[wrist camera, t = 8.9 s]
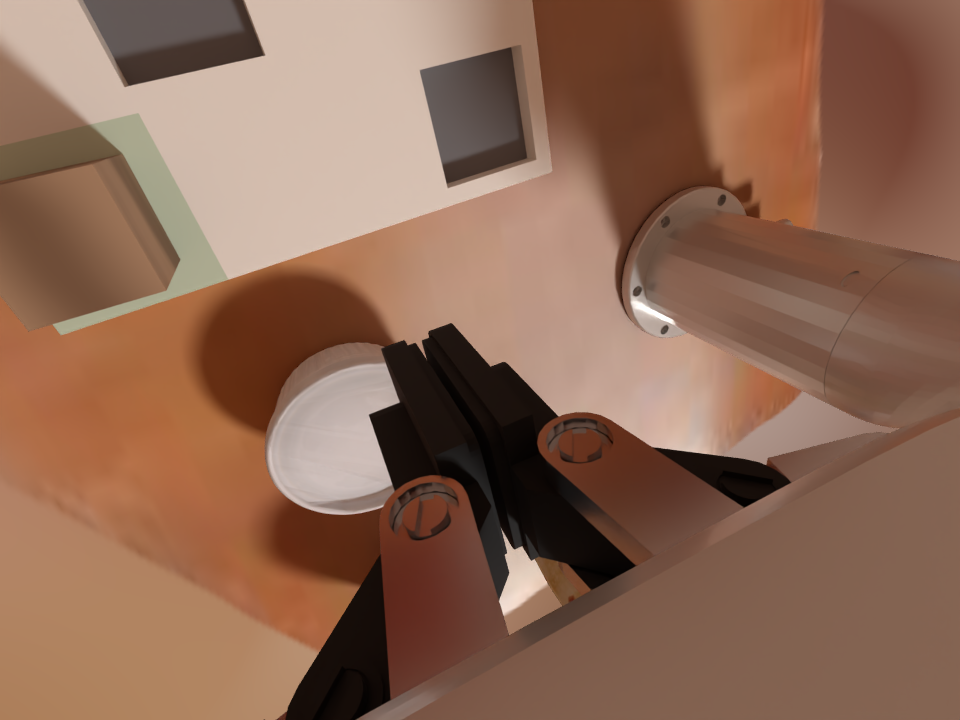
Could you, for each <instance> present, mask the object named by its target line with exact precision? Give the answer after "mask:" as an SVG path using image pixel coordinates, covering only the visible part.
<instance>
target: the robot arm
mask: <svg viewBox="0 0 960 720" xmlns="http://www.w3.org/2000/svg"><path fill="white" fill-rule="evenodd" d="M622 297H623V302H624V307H625V309H626V312H627V314H628V316H629V318H630V319H631V320H632V322H633V323H634V324H635V325H636V326H637V327H638V328H640V329H641V330H642V331H644V332H646V333H648V334H650V335H652V336H655V337H659V338H673V337H677V336H681V335H684V334H686V333H689V334H691V335H693V336H695V337H697V338H699V339H701V340H703V341H705V342H707V343H709V344H711V345H713V346H715V347H717V348H719V349H721V350H723V351H725V352H727V353H729V354H731V355H732V356H734V357H736V358H738V359H740V360H742V361H744V362H746V363H748V364H750V365H752V366H754V367H756V368H758V369H760V370H762V371H764V372H766V373H768V374H770V375H772V376H774V377H776V378H778V379H780V380H782V381H784V382H786V383H788V384H790V385H792V386H794V387H796V388H798V389H800V390H802V391H804V392H806V393H808V394H809V395H812V396H813V397H815V398H817V399H819V400H821V401H823V402H825V403H827V404H829V405H831V406H833V407H835V408H837V409H839V410H841V411H843V412H846V413H847V414H849V415H851V416H853V417H856V418H858V419H861V420H863V421H866V422H869V423H873V424H875V425H880V426H885V427H891V428H900V429H898V430H895V431H893V432H891V433H882V432H876V433H866V434H861V435H857V436H853V437H849V438H845V439H841V440H837V441H833V442H829V443H826V444H821V445H817V446H813V447H810V448H806V449H802V450H798V451H794V452H790V453H786V454H782V455H778V456H774V457H770V458H768V460H767V465H764V464H762V463H759V462H755V461H750V460H746V459H740V458H732V457H724V456H717V455H709V454H701V453H693V452H685V451H677V450H670V449H662V448H654V447H651V446H649V445H648V444H646V443H645V442H643V441H642V440H640V439H639V438H637V437H636V436H634V435H633V434H631V433H630V432H628V431H626V430H625V429H623V428H622V427H620V426H619V425H617V424H616V423H614V422H613V421H611V420H609V419H607V418H605V417H603V416H601V415H597V414H593V413H586V412H575V413H570V414H565V415H562V416H559V417H558V416H557V414H556V413H555V412H554V411H553V410H552V409H551V408H550V407H549V406H548V405H547V404H546V403H545V402H544V401H543V400H542V399H541V398H540V397H539V396H538V395H537V394H536V393H535V392H534V391H533V390H532V389H531V388H530V387H529V385H528V384H527V383H526V382H525V381H524V380H523V379H522V378H521V377H520V376H519V375H518V374H517V373H516V372H515V371H514V370H513V369H512V368H511V367H510V366H509V365H508V364H507V363H506V362H502V363H499V364H496V365H494V366H491V367H490V366H489V365H488V363H487V362H486V361H485V360H484V359H483V358H482V357H481V356H480V354H479V353H478V352H477V351H476V350H475V349H474V348H473V346H472V345H471V344H470V343H469V342H468V341H467V340H466V339H465V337H464V336H463V335H462V334H461V333H460V332H459V331H458V330H457V328H456V327H455V326H454V325H453V324H452V323H450V324H448V325H445V326H442V327H439V328H436V329H434V330H431V331H429V333H428V334H429V338H427V339H424V340H422V344H423V348H424V351H425V355H426V358H427V359H426V358H425V356H424V355H423V353H422V352H421V350H420V349H419V347H418V346H417V344H416V343H413V344H411V345H407V344H406V342H405V341H404V340H403V341H400V342H398V343H395V344H392V345H389V346H386V347H384V348H381V351H382V354H383V357H384V360H385V363H386V365H387V368H388V371H389V374H390V377H391V379H392V382H393V385H394V388H395V391H396V394H397V396H398V399H399V403H397V404H394V405H392V406H389V407H387V408H384V409H381V410H379V411H376V412H374V413H371V414H369V417H370V420H371V423H372V426H373V429H374V432H375V435H376V438H377V441H378V444H379V447H380V450H381V453H382V456H383V459H384V462H385V465H386V467H387V470H388V473H389V476H390V479H391V482H392V485H393V488H394V493H393V494H392V495H391V496H390V497H389V498H388V499H387V501H386V502H385V504H384V506H383V508H382V510H381V512H380V519H379V533H380V548H381V554H380V556H379V557H378V559H377V561H376V562H375V564H374V566H373V567H372V569H371V570H370V572H369V574H368V575H367V577H366V578H365V580H364V582H363V583H362V585H361V586H360V588H359V590H358V591H357V593H356V594H355V596H354V598H353V599H352V601H351V602H350V604H349V606H348V607H347V609H346V611H345V612H344V614H343V615H342V617H341V619H340V620H339V622H338V623H337V625H336V627H335V628H334V630H333V631H332V633H331V635H330V636H329V638H328V639H327V641H326V643H325V644H324V646H323V647H322V649H321V651H320V652H319V654H318V655H317V657H316V659H315V660H314V662H313V664H312V665H311V667H310V668H309V670H308V672H307V673H306V675H305V676H304V678H303V680H302V681H301V683H300V684H299V686H298V688H297V690H296V692H295V694H294V696H293V698H292V700H291V702H290V704H289V706H288V710H287V712H285V713H284V714H283V715H282V716H280V717H279V718H278V719H277V720H960V261H957V260H952V259H948V258H943V257H938V256H933V255H929V254H924V253H919V252H914V251H910V250H905V249H900V248H896V247H890V246H886V245H881V244H877V243H872V242H867V241H862V240H858V239H853V238H849V237H844V236H839V235H834V234H830V233H824V232H820V231H816V230H811V229H806V228H801V227H797V226H793V224H792V223H791V221H790V220H788V219H782V220H779V221H777V222H773V221H768V220H764V219H759V218H754V217H749V216H747V215H746V212H745V210H744V208H743V205H742V204H741V203H740V201H739V200H738V199H737V197H736V196H734V195H733V194H732V193H730V192H729V191H727V190H724V189H721V188H717V187H710V186H698V187H691V188H689V189H686V190H683V191H680V192H679V193H677V194H675V195H674V196H672V197H670V198H669V199H667V200H666V201H665V202H664V203H663V204H661V205H660V206H659V207H658V208H657V209H656V210H655V211H654V212H653V213H652V214H651V216H650V217H649V218H648V219H647V220H646V222H645V223H644V224H643V226H642V228H641V229H640V231H639V232H638V234H637V235H636V237H635V239H634V242H633V244H632V246H631V248H630V250H629V253H628V256H627V259H626V263H625V266H624V272H623V278H622ZM501 528H502V530H503V532H504V534H505V535H506V537H507V539H508V541H509V543H510V544H511V546H512V547H513V549H517V548H519V547H521V546H523V548H524V550H525V551H526V553H527V555H528V556H529V558H530V560H531V561H532V560H534V559H535V558H537V557H539V556H540V557H541V558H546V559H550V560H554V561H557V562H558V566H559V568H560V570H561V571H562V573H563V574H564V576H565V577H566V578H567V579H568V580H569V582H570V583H571V584H572V585H573V586H574V587H575V588H576V589H577V591H578V592H579V593H580V594H581V595H582V596H580V597H579V598H577V599H575V600H573V601H571V602H569V603H568V604H566V605H564V606H562V607H560V608H558V609H557V610H555V611H553V612H551V613H549V614H547V615H545V616H544V617H542V618H540V619H538V620H536V621H534V622H533V623H531V624H529V625H527V626H525V627H523V628H522V629H520V630H518V631H516V632H514V633H513V634H511V635H509V633H508V630H507V627H506V623H505V620H504V616H503V613H502V609H501V606H500V603H499V599H500V596H501V594H502V591H503V588H504V586H505V583H506V580H507V578H508V575H509V570H508V566H507V563H506V559H505V554H507V550H506V546H505V542H504V538H503V534H502V531H501Z"/></svg>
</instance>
